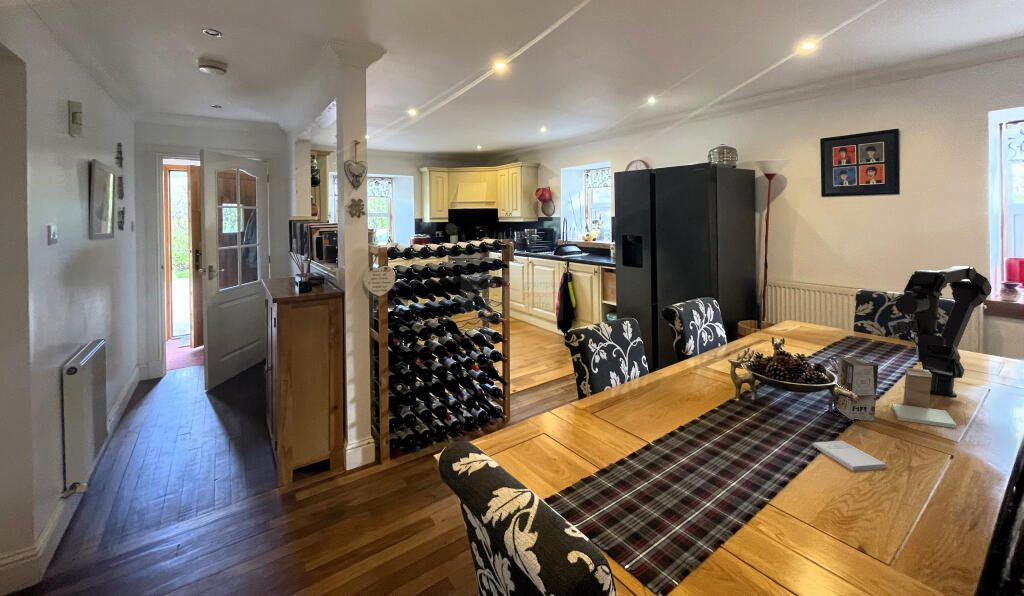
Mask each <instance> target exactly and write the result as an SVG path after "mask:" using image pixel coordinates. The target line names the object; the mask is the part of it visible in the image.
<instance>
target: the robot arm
mask: <svg viewBox="0 0 1024 596" xmlns="http://www.w3.org/2000/svg"><path fill="white" fill-rule="evenodd" d="M947 286H949V288H951V290H952V291H951V295H952V298H953V300H954V303H953V306H952V308H951V310H950V313H949V315H948V318H947V320H946V322H945V325H944V327H943V329H942V331H941V333H939V329H937V328H938V327H937V325H938V321H940V319H941V317H940V316H939V309H940V297H942V296H943V293H942V291H943V289H945V288H947ZM991 293H992V285H991V283H990V281H989V280H988V278H987V277H985V276H984V275H982V274H980V273H979V272H977V270H976V267H973V266H963V265H960V266H959V265H956V266H952V267H948V268H944V269H943V268H942V269H939V270H927V269H926V270H925V269H916V270H915V271H914V272H913V273H912V274H911V276H910V278H909V279H908V281H907V282H906V285H905V287H904V289H903V295H902V296H900V297H898V298H897V300H896V301H895V305H894V306H895V309H896V310H897V311H898V313H900V314H902V315H906V316H907V315H909V317H907V318H903V319H898V320H893V321H889V322H887V325H888V328H889V330H890V333H892V335H900V334H901V333H904V334H908V333H911V334H910V336H907V338H908V339H909V340H910V341H912V343H913V344H914V347H915V352H916V353H915V354H916V356H917V361H918V362H919V363H920V362H921V366H922V367H921V369H924V370H928V371H929V372H930V373H931V374H932V377H931V388H930V395H941V396H948V397H957V396H958V395H957V394H956V392H955V390H954V388H955V387H954V386H955V379H963V377H964V374H965V368H964V366H963V365H962V362H961V355H960V353H959V350H958V347H959V345H960V342H961V340H962V337H963V335H964V333H965V331H966V329H967V326H968V325H969V321H970V319H971V317H972V314H973V312H974V310H975V309H976V308H977V307H979V306H981V305H982V304H983V303H985V302H986V300H987V298H988V296H990V295H991Z"/></svg>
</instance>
